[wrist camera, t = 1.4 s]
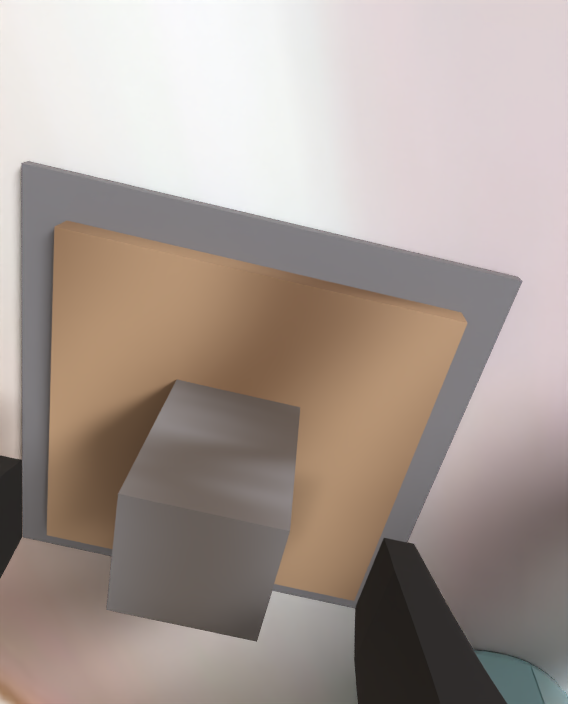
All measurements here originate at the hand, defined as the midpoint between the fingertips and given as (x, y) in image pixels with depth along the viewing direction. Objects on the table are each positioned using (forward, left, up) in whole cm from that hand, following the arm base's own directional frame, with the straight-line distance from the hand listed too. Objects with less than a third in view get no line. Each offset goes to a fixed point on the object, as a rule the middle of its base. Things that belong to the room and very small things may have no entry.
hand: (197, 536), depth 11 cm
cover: (0, 0, -4) cm, 4 cm away
